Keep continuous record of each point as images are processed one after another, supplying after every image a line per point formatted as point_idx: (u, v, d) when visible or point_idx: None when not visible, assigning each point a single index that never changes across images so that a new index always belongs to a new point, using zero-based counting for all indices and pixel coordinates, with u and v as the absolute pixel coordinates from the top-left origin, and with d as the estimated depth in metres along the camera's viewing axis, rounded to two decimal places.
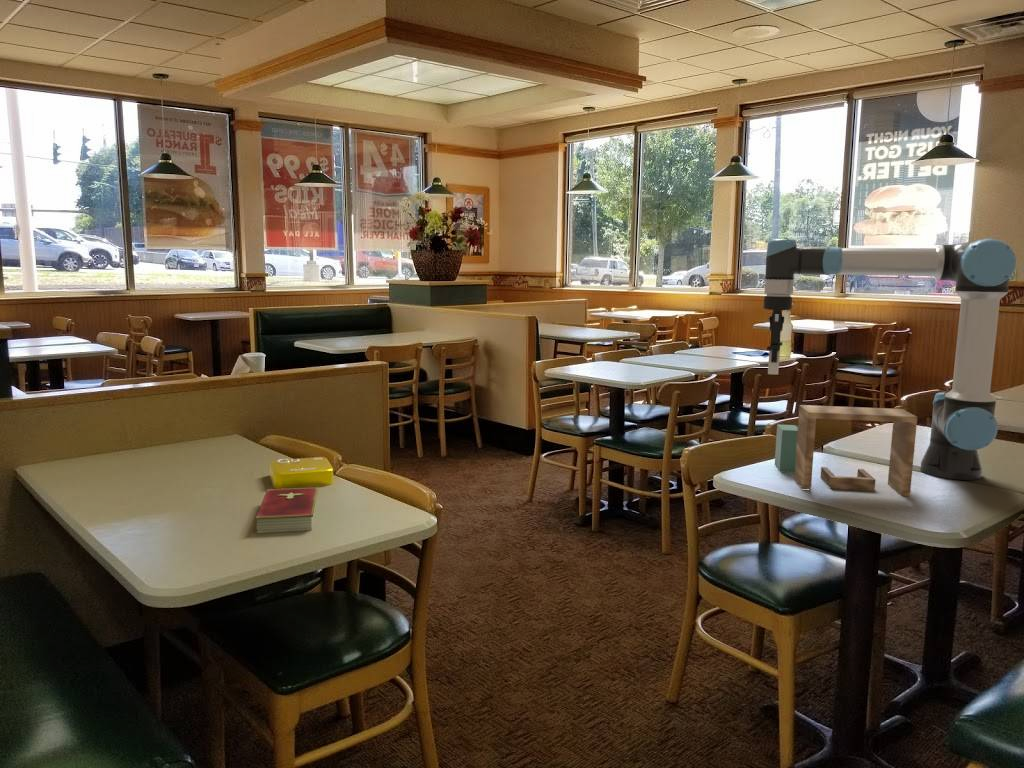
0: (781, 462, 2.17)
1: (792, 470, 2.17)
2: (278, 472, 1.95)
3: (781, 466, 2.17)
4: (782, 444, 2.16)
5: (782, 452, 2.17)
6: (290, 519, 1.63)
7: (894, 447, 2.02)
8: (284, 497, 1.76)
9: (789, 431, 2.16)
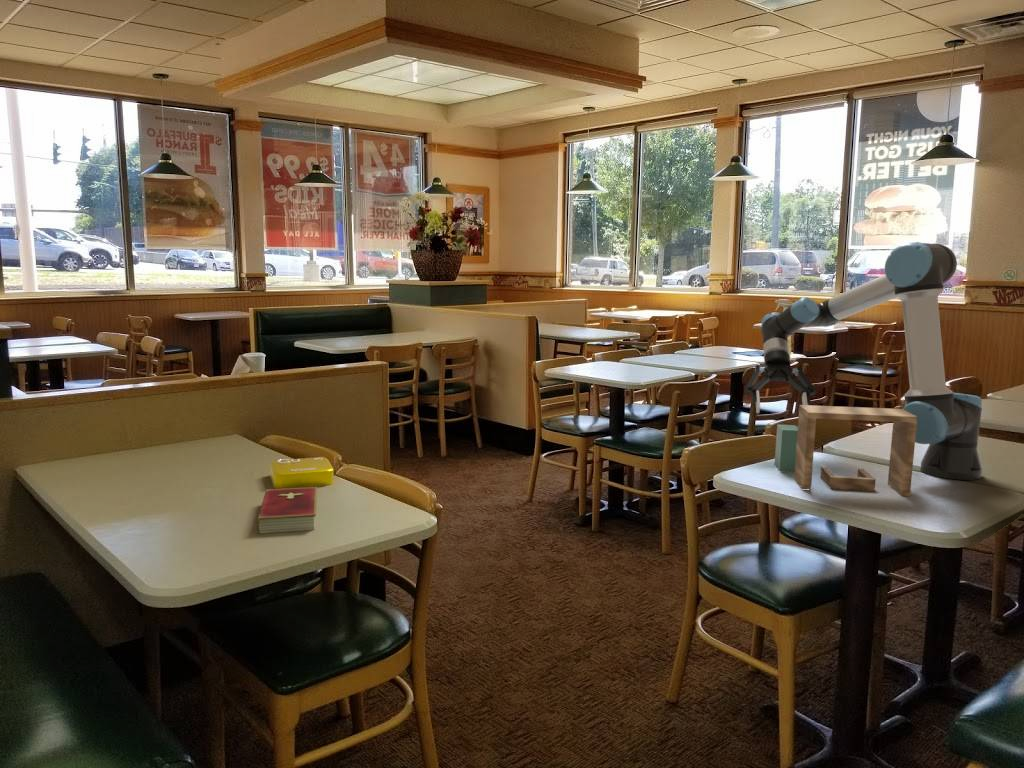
0: (781, 462, 2.17)
1: (792, 470, 2.17)
2: (278, 472, 1.94)
3: (781, 466, 2.17)
4: (782, 444, 2.16)
5: (782, 452, 2.17)
6: (292, 519, 1.63)
7: (894, 447, 2.02)
8: (284, 497, 1.75)
9: (789, 431, 2.16)
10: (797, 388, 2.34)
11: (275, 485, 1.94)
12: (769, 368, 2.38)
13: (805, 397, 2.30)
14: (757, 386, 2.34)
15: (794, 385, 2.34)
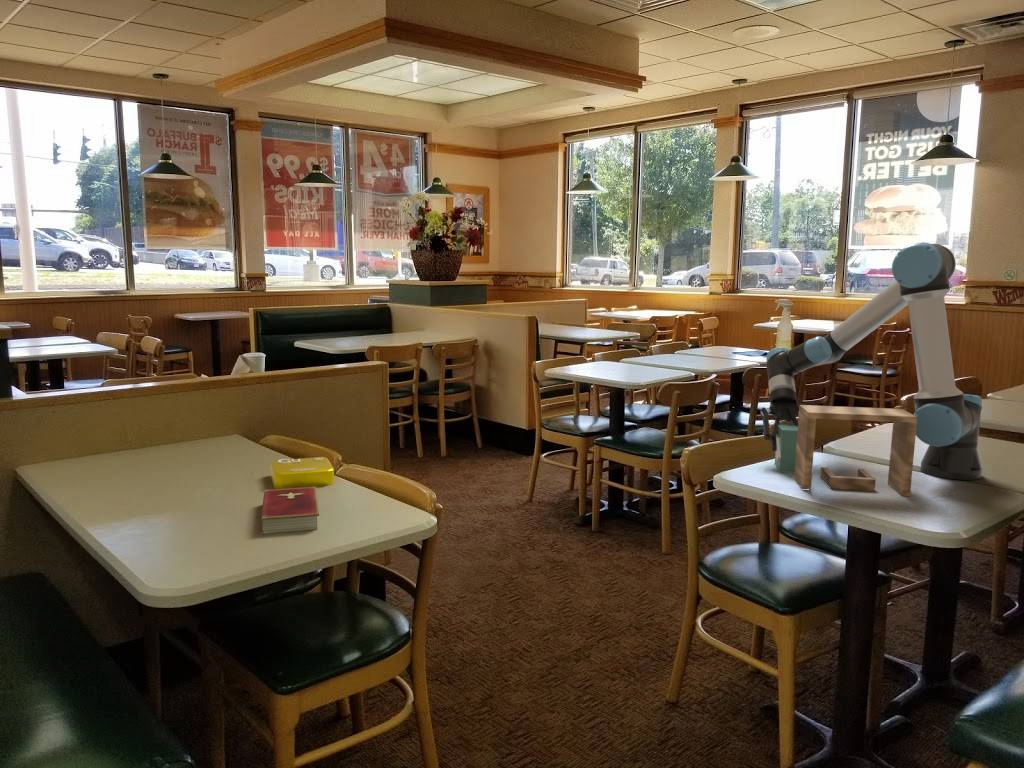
0: (781, 462, 2.17)
1: (792, 470, 2.17)
2: (278, 472, 1.94)
3: (781, 466, 2.17)
4: (782, 444, 2.16)
5: (782, 452, 2.17)
6: (296, 519, 1.63)
7: (894, 447, 2.02)
8: (285, 497, 1.75)
9: (789, 431, 2.16)
10: None
11: (275, 485, 1.94)
12: (775, 406, 2.27)
13: None
14: (775, 432, 2.22)
15: None
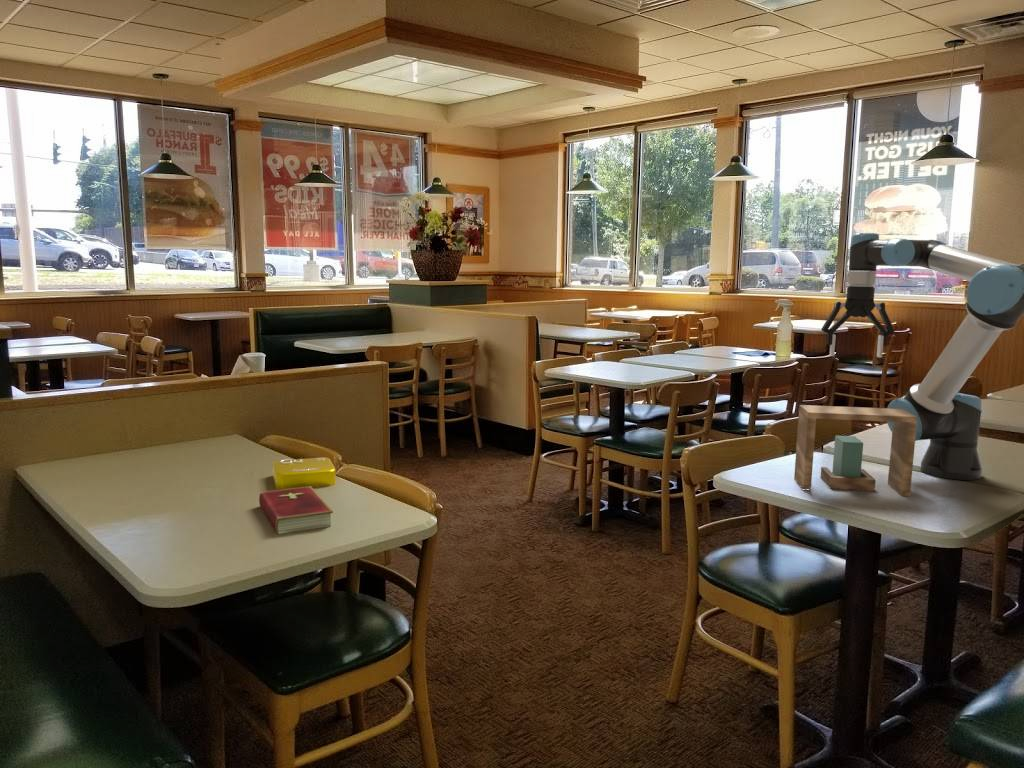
0: None
1: None
2: (280, 473, 1.94)
3: None
4: (843, 457, 2.02)
5: (843, 465, 2.03)
6: (310, 517, 1.65)
7: (894, 447, 2.02)
8: (286, 497, 1.75)
9: (851, 443, 2.02)
10: (875, 326, 2.31)
11: (277, 485, 1.94)
12: (850, 305, 2.30)
13: (882, 342, 2.30)
14: (834, 329, 2.32)
15: (873, 323, 2.31)
